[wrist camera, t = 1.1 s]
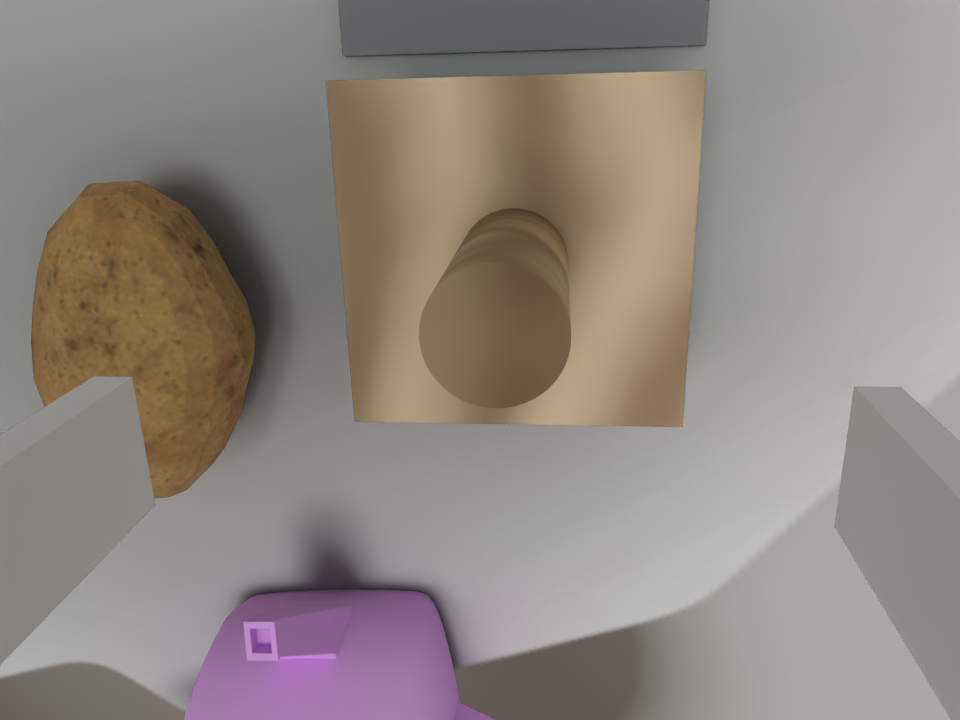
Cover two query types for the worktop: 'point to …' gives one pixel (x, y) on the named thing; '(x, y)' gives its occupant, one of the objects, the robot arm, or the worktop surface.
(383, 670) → the teakettle
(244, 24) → the worktop surface
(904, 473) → the robot arm
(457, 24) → the mat
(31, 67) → the worktop surface
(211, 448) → the potato
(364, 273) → the lid
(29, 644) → the worktop surface
